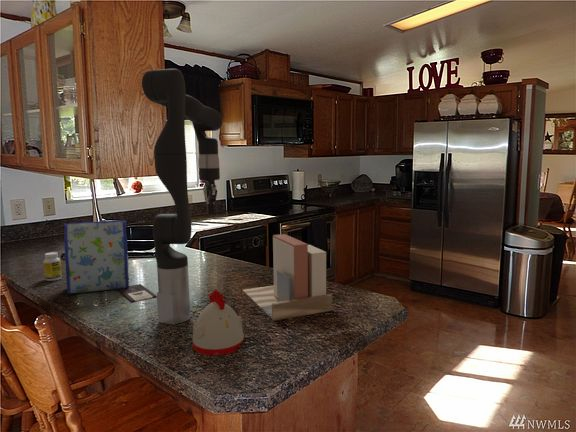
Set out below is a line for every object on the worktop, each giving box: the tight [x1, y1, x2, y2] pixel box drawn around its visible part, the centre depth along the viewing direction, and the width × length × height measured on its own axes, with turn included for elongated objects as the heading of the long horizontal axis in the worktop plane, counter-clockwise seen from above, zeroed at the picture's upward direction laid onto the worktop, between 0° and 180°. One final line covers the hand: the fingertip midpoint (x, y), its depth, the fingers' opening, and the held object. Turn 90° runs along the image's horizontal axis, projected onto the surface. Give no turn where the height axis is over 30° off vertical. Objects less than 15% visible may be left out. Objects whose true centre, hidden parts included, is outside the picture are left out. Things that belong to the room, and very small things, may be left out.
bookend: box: [261, 270, 291, 319], centre depth 136 cm, size 10×6×12 cm, turn 23°
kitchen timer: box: [192, 289, 245, 356], centre depth 116 cm, size 14×14×15 cm
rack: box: [242, 284, 333, 321], centre depth 148 cm, size 32×20×6 cm, turn 23°
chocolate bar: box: [116, 283, 157, 304], centre depth 160 cm, size 9×1×18 cm
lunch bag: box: [63, 219, 130, 294], centre depth 166 cm, size 22×17×26 cm
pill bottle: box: [43, 251, 63, 282], centre depth 178 cm, size 6×6×11 cm
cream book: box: [308, 244, 327, 297], centre depth 141 cm, size 12×5×19 cm, turn 23°
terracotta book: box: [272, 233, 309, 300], centre depth 142 cm, size 18×5×22 cm, turn 24°
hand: (210, 213), depth 160 cm, fingers closed
